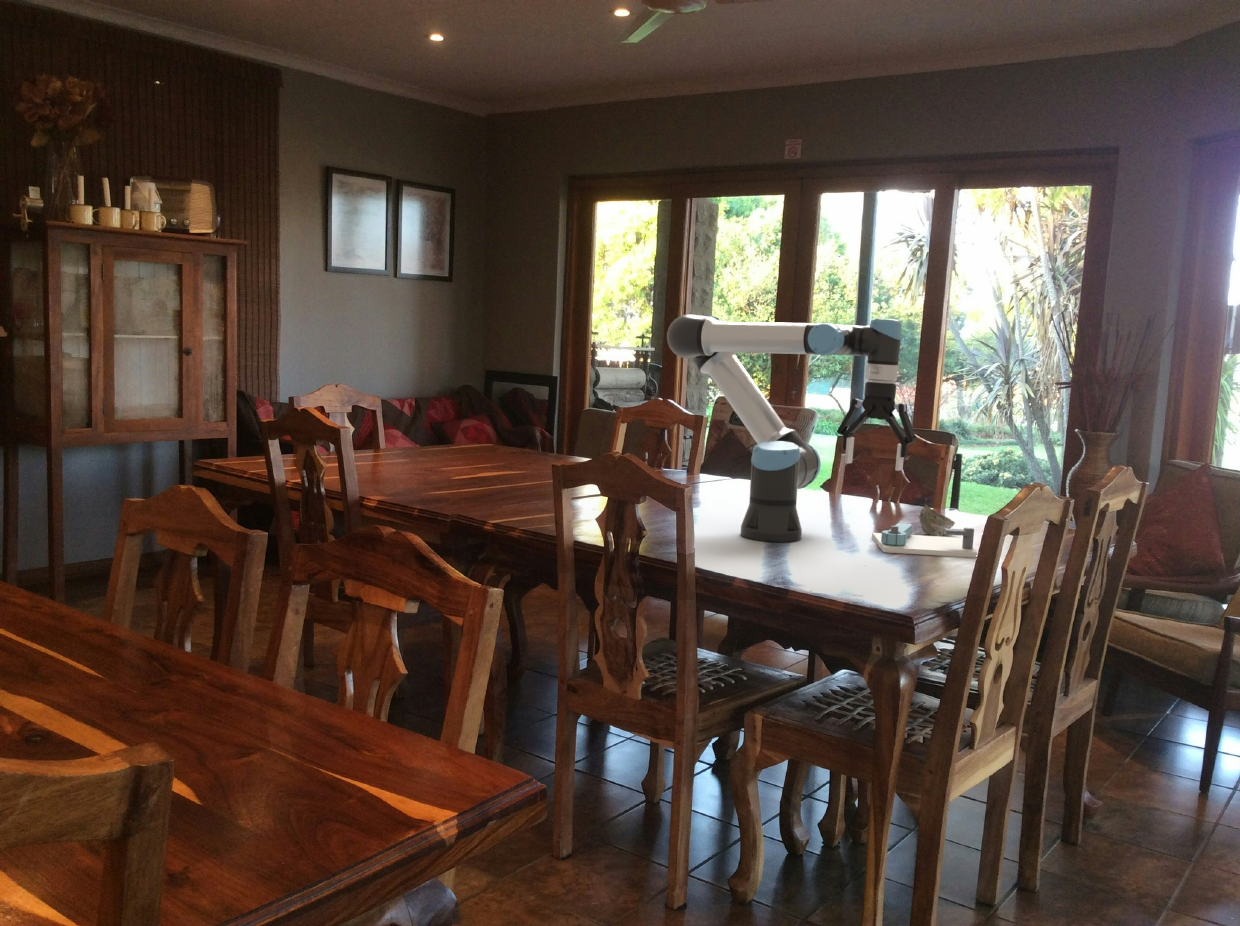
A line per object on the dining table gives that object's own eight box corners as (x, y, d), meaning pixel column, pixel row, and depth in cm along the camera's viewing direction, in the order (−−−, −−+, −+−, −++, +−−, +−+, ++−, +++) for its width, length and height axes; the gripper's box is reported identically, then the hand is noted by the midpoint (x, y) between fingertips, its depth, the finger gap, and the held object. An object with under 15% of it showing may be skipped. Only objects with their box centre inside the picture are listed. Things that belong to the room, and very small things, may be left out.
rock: (940, 535, 273) (919, 503, 277) (924, 548, 277) (904, 517, 281) (965, 531, 280) (944, 500, 284) (949, 544, 284) (929, 513, 288)
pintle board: (883, 552, 254) (885, 527, 253) (871, 537, 273) (873, 514, 272) (978, 557, 252) (980, 532, 252) (960, 542, 271) (961, 519, 270)
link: (903, 546, 255) (903, 535, 255) (879, 543, 257) (880, 532, 257) (915, 534, 271) (916, 524, 271) (893, 531, 273) (894, 522, 273)
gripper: (828, 377, 269) (821, 461, 272) (923, 386, 254) (914, 474, 257) (842, 377, 275) (835, 459, 278) (935, 385, 260) (926, 472, 263)
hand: (873, 466), depth 268 cm, fingers open, 13 cm apart
